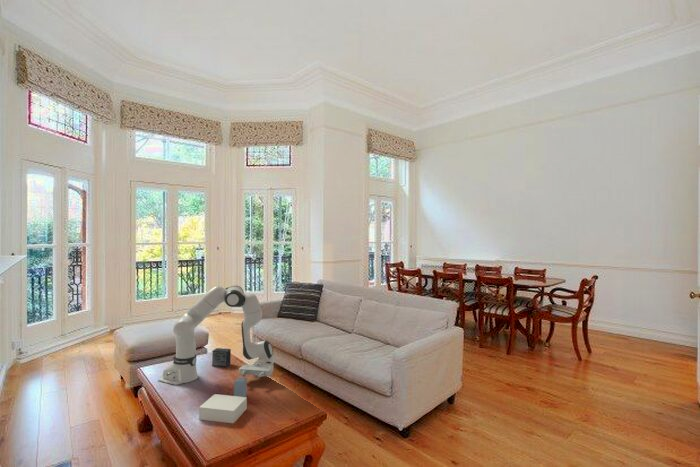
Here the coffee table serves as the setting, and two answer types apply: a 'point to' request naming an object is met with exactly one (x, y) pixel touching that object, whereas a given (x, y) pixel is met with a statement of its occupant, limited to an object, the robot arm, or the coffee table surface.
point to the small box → (221, 357)
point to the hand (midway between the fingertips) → (250, 375)
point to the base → (223, 408)
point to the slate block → (240, 387)
